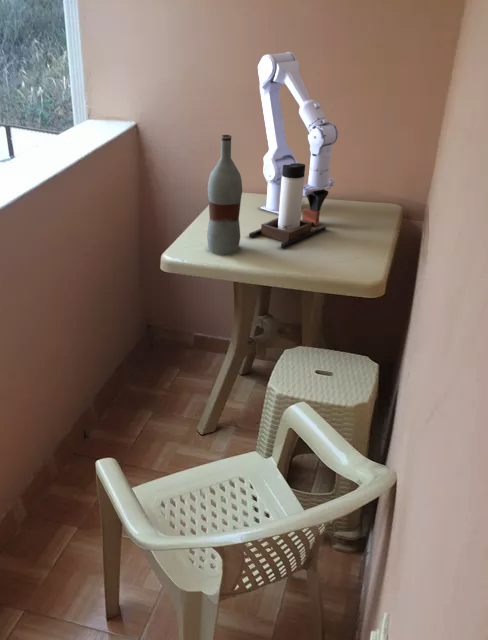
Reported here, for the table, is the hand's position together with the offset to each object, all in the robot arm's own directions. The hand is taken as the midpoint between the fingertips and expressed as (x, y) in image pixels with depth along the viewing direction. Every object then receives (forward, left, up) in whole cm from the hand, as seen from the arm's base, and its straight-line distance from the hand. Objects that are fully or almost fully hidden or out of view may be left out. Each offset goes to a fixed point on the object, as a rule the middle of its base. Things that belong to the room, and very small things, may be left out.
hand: (314, 214), depth 198 cm
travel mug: (+13, 0, -3) cm, 13 cm away
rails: (+13, 0, -2) cm, 13 cm away
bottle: (+35, -6, -3) cm, 35 cm away
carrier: (+10, 0, -2) cm, 10 cm away
